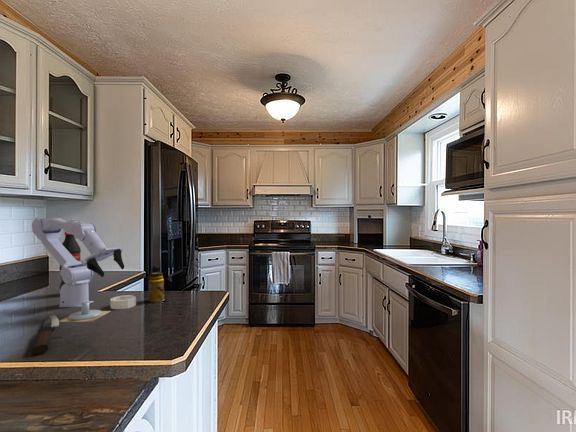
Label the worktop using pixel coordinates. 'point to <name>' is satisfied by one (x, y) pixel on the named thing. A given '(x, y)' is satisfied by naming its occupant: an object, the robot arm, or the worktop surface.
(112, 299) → the bowl
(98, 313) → the lid
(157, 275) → the condiment
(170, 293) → the worktop surface
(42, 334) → the kitchen knife
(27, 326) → the worktop surface
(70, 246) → the cola bottle
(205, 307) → the worktop surface
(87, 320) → the mat
